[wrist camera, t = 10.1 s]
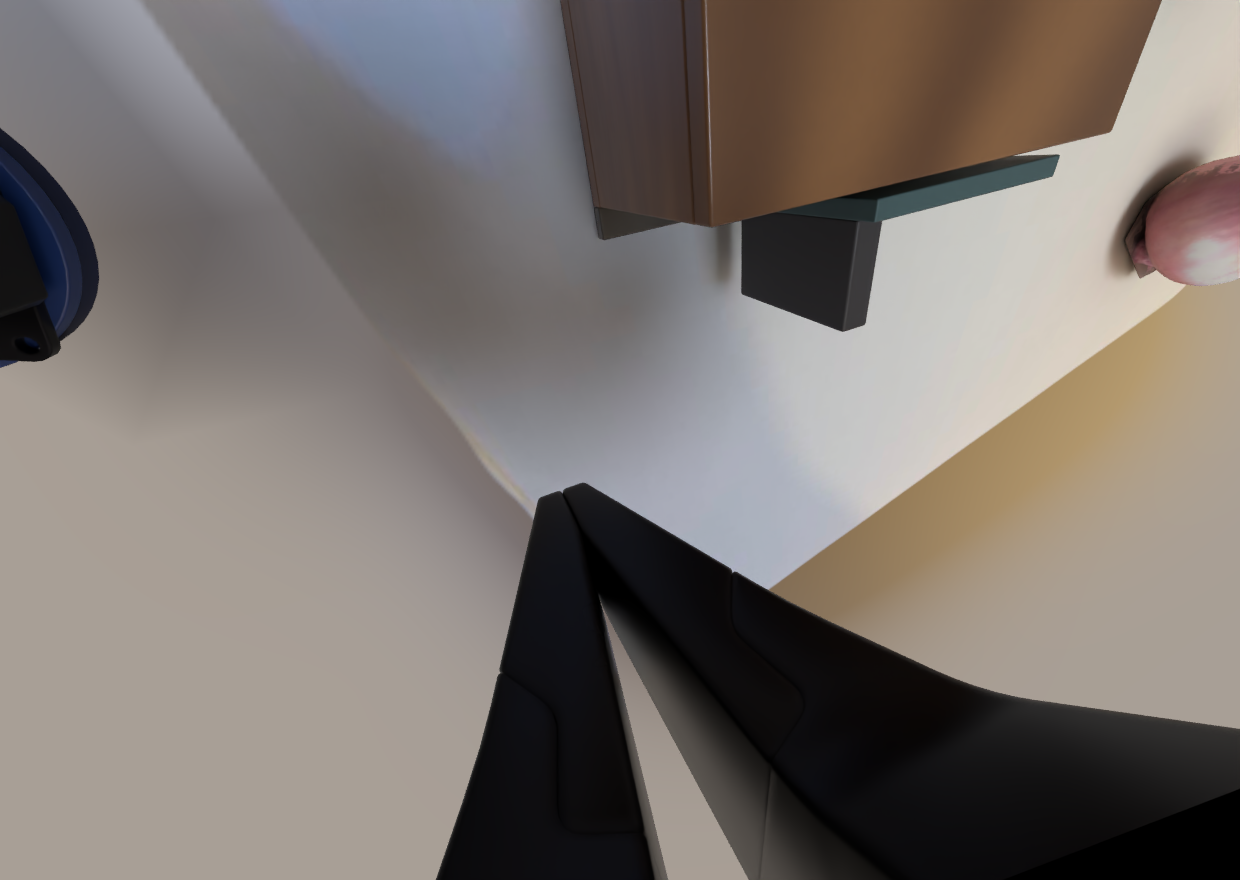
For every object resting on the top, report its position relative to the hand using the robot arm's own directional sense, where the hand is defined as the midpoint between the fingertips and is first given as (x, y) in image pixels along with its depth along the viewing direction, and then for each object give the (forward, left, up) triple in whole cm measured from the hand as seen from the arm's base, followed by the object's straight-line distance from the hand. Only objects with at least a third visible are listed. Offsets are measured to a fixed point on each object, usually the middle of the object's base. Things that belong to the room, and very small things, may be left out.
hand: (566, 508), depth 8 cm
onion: (+44, +11, -13) cm, 47 cm away
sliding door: (+13, +6, -12) cm, 19 cm away
